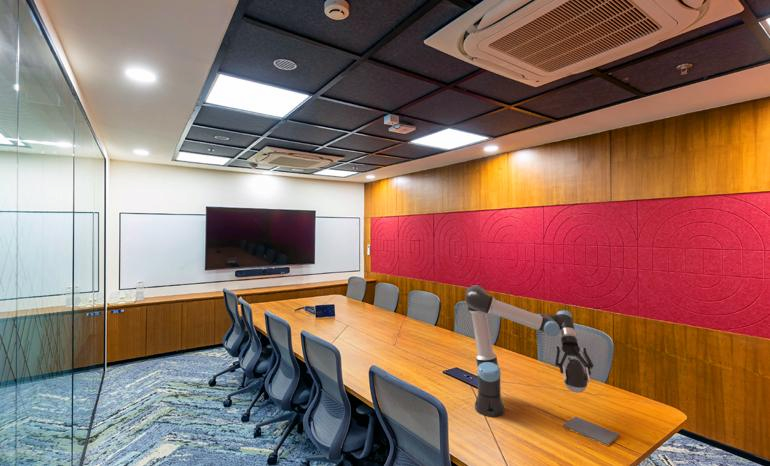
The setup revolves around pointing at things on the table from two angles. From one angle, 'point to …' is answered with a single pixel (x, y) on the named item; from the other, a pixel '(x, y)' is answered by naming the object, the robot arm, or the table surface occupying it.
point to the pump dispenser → (575, 376)
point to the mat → (591, 430)
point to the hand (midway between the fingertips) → (577, 380)
